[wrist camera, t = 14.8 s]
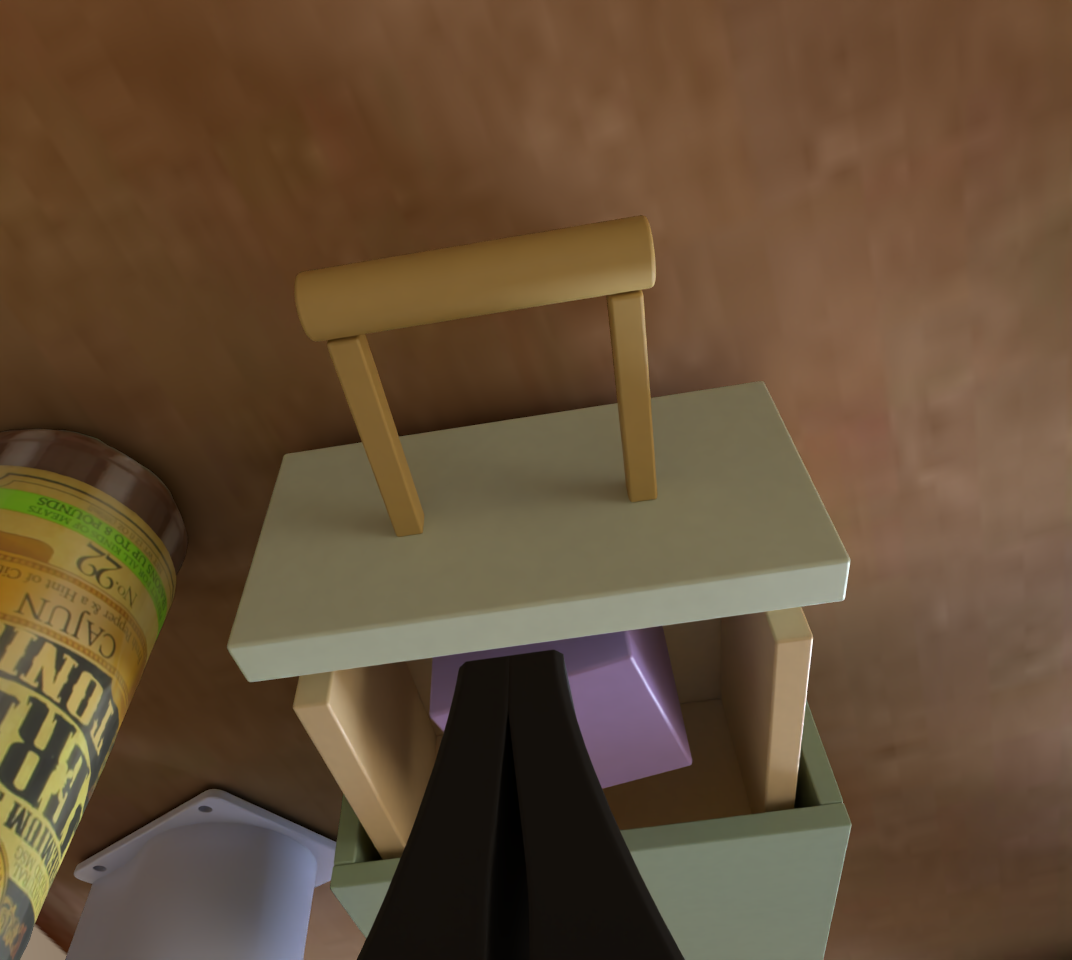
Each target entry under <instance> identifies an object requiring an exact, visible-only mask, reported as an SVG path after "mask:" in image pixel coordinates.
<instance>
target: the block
mask: <svg viewBox="0 0 1072 960" xmlns="http://www.w3.org/2000/svg"><path fill="white" fill-rule="evenodd" d="M546 650H556V651H558V652H560V653H563V655H564V660H565V665H566V669H567V674H568V679H569V684H570V689H571V694H572V699H573V703H574V708H575V713H576V718H577V721H578V724H579V727H580V730H581V734H582V737H583V740H584V743H585V746H586V748H587V751H588V754H589V757H590V759H591V762H592V765H593V767H594V770H595V772H596V775H597V777H598V780H599V782H600V785H601V787H602V789H603V788H607V787H611V786H614V785H618V784H622V783H626V782H629V781H633V780H637V779H641V778H645V777H648V776H652V775H656V774H660V773H664V772H667V771H671V770H675V769H679V768H682V767H686V766H690V765H691V764H692V757H691V753H690V748H689V744H688V739H687V734H686V730H685V725H684V721H683V716H682V712H681V707H680V703H679V698H678V694H677V689H676V685H675V680H674V675H673V671H672V666H671V662H670V657H669V653H668V648H667V644H666V639H665V635H664V630H663V626H656V627H649V628H642V629H635V630H627V631H620V632H613V633H606V634H598V635H591V636H584V637H577V638H569V639H562V640H555V641H548V642H540V643H533V644H526V645H518V646H511V647H504V648H497V649H489V650H482V651H475V652H468V653H460V654H453V655H446V656H439V657H432V675H431V693H430V711H429V715H430V718H431V719H432V720H433V721H434V722H435V724H436V725H437V726H438V727H439V728H440V729H441V730H442V731H443V732H444V730H445V726H446V723H447V719H448V715H449V711H450V708H451V703H452V699H453V695H454V691H455V686H456V681H457V676H458V671H459V667H460V666H462V665H463V664H464V663H465V662H466V661H473V660H481V659H488V658H495V657H502V656H510V655H517V654H524V653H532V652H539V651H546Z"/></svg>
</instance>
